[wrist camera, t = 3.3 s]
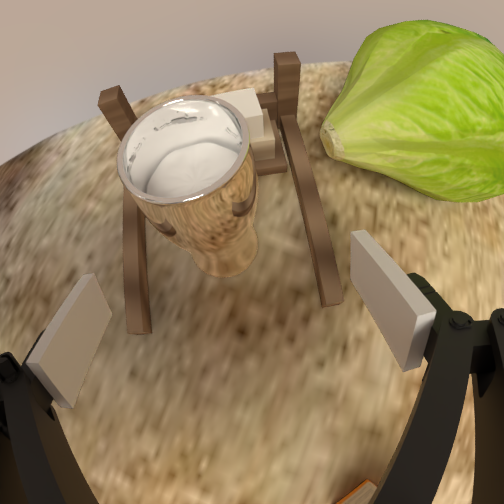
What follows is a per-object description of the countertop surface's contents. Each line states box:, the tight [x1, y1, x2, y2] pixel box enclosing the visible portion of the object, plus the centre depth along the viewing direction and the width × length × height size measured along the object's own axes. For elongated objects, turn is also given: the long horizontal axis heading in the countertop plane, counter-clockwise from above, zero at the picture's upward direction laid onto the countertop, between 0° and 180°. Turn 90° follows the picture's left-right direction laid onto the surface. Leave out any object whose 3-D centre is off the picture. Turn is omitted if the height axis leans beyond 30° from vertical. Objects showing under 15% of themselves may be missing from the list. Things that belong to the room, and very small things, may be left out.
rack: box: [98, 52, 344, 335], centre depth 24 cm, size 21×18×9 cm
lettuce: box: [320, 20, 504, 202], centre depth 21 cm, size 19×25×17 cm
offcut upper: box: [211, 88, 264, 139], centre depth 25 cm, size 4×10×3 cm, turn 102°
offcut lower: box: [250, 109, 275, 161], centre depth 28 cm, size 4×12×3 cm, turn 99°
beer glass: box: [117, 95, 258, 278], centre depth 21 cm, size 7×7×15 cm
